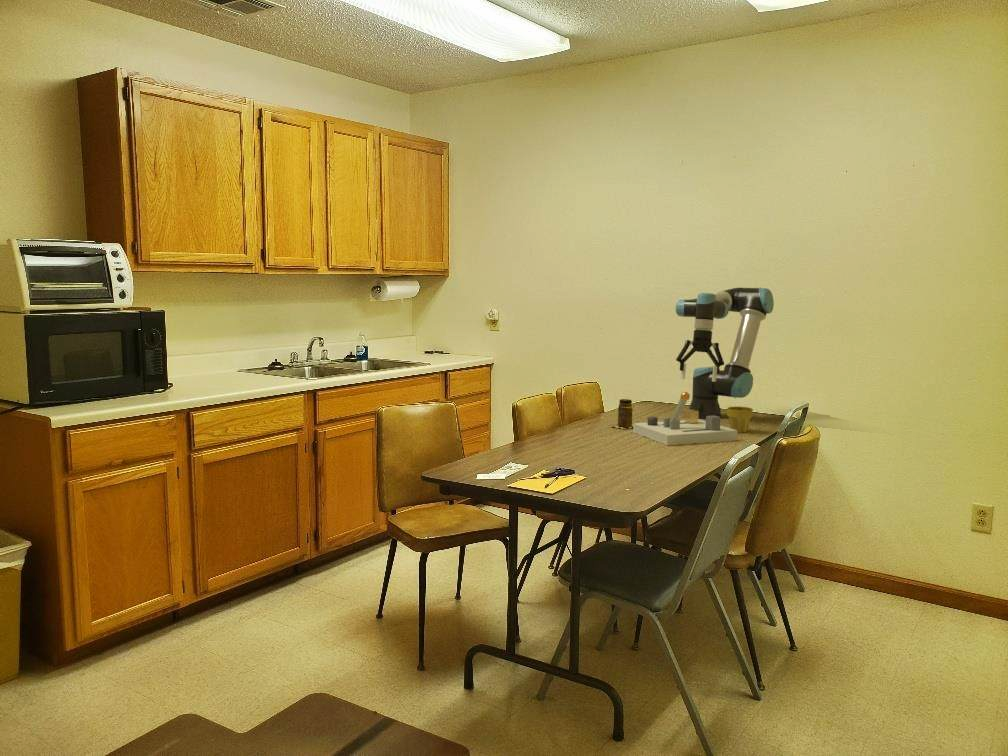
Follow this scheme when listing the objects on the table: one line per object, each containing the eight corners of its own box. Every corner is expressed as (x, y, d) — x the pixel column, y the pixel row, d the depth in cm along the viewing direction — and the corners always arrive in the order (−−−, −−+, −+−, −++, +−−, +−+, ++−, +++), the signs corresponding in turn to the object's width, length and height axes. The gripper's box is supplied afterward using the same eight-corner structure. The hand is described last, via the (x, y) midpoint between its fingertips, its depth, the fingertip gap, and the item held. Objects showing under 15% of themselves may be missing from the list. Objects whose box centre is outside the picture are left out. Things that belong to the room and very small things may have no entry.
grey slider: (714, 427, 311) (714, 415, 310) (720, 429, 307) (720, 417, 306) (705, 428, 309) (706, 415, 309) (711, 430, 306) (712, 417, 305)
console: (698, 428, 331) (699, 411, 330) (736, 440, 307) (737, 421, 306) (633, 432, 320) (633, 415, 319) (667, 445, 296) (667, 426, 295)
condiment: (636, 427, 332) (636, 400, 331) (624, 430, 326) (624, 402, 325) (622, 425, 337) (623, 398, 336) (610, 427, 332) (611, 400, 330)
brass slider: (692, 421, 325) (693, 409, 324) (698, 422, 321) (698, 411, 320) (684, 421, 323) (685, 409, 323) (689, 423, 320) (690, 411, 319)
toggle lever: (672, 425, 313) (687, 393, 314) (677, 426, 310) (693, 394, 310) (665, 421, 312) (681, 389, 312) (670, 423, 308) (686, 391, 309)
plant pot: (726, 432, 322) (727, 409, 321) (725, 428, 332) (726, 405, 331) (752, 434, 320) (753, 410, 319) (750, 429, 330) (751, 406, 329)
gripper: (677, 327, 320) (672, 378, 320) (735, 332, 322) (730, 383, 323) (671, 327, 327) (666, 377, 328) (728, 332, 330) (723, 382, 331)
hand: (698, 380), depth 325 cm, fingers open, 13 cm apart
